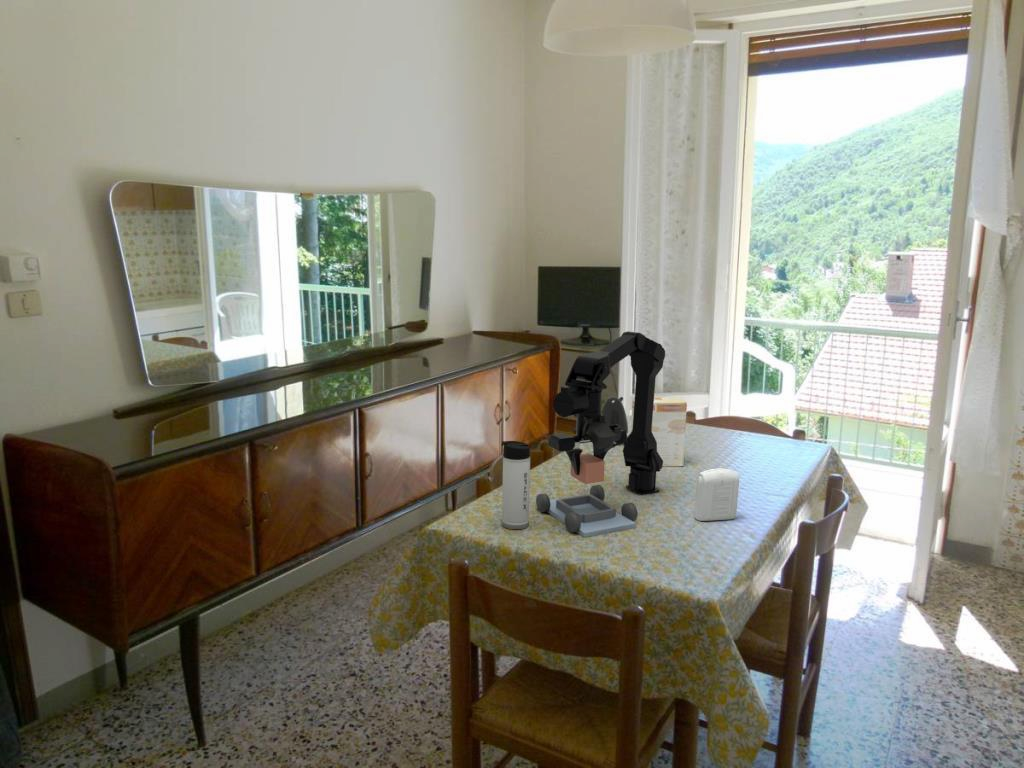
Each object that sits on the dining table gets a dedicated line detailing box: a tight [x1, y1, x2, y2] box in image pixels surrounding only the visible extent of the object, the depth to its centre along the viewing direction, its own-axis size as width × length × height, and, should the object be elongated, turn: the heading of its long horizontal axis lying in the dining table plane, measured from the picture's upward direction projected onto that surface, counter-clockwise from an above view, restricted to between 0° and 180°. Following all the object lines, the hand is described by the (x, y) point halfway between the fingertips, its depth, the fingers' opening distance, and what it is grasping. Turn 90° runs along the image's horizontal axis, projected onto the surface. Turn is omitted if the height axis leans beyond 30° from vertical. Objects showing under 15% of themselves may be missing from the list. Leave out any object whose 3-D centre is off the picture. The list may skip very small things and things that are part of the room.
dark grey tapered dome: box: [601, 396, 629, 445], centre depth 246 cm, size 10×10×15 cm
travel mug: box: [500, 440, 531, 530], centre depth 175 cm, size 6×7×20 cm
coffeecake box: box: [630, 397, 688, 467], centre depth 224 cm, size 15×7×20 cm, turn 92°
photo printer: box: [694, 467, 740, 522], centre depth 182 cm, size 10×4×12 cm, turn 103°
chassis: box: [535, 484, 639, 538], centre depth 182 cm, size 17×22×4 cm
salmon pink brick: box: [570, 452, 606, 485], centre depth 180 cm, size 5×7×5 cm
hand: (587, 473), depth 181 cm, fingers closed on salmon pink brick, 5 cm apart
